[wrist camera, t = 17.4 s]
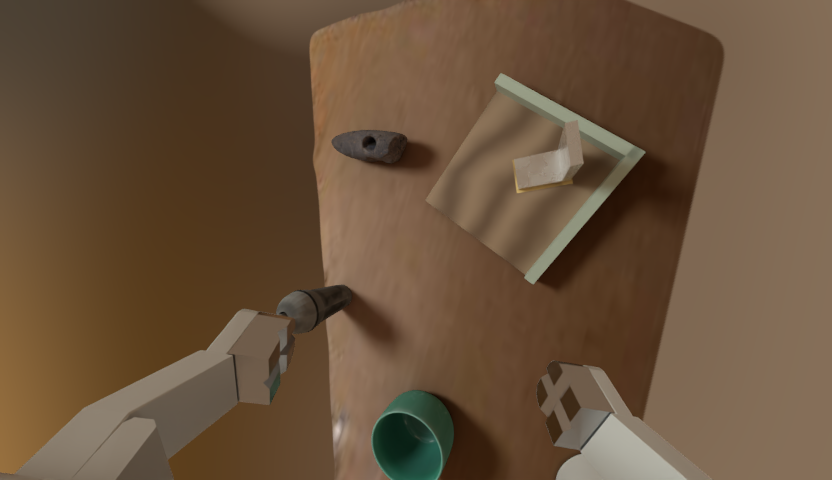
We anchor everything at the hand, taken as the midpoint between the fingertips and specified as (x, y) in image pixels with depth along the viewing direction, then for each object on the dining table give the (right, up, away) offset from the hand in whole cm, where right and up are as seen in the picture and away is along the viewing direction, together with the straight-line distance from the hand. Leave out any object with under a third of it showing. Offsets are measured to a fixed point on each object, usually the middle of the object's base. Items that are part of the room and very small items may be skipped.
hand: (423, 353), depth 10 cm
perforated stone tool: (-8, +21, +47) cm, 52 cm away
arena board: (+16, +13, +38) cm, 43 cm away
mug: (+2, -31, +47) cm, 56 cm away
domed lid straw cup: (-15, -8, +52) cm, 55 cm away
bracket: (+19, +14, +36) cm, 43 cm away
